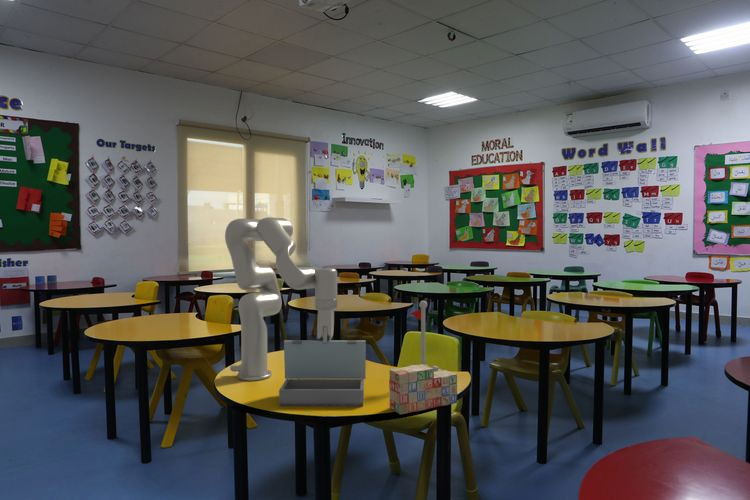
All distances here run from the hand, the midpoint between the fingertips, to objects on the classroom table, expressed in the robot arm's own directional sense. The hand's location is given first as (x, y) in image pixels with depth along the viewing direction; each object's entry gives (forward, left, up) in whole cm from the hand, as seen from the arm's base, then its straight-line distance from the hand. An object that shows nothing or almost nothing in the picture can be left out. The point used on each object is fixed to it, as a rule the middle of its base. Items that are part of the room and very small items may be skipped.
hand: (326, 358), depth 162 cm
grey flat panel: (0, -5, 0) cm, 5 cm away
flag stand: (+34, +9, -12) cm, 37 cm away
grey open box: (0, -9, -11) cm, 14 cm away
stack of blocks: (+32, -14, -12) cm, 37 cm away
